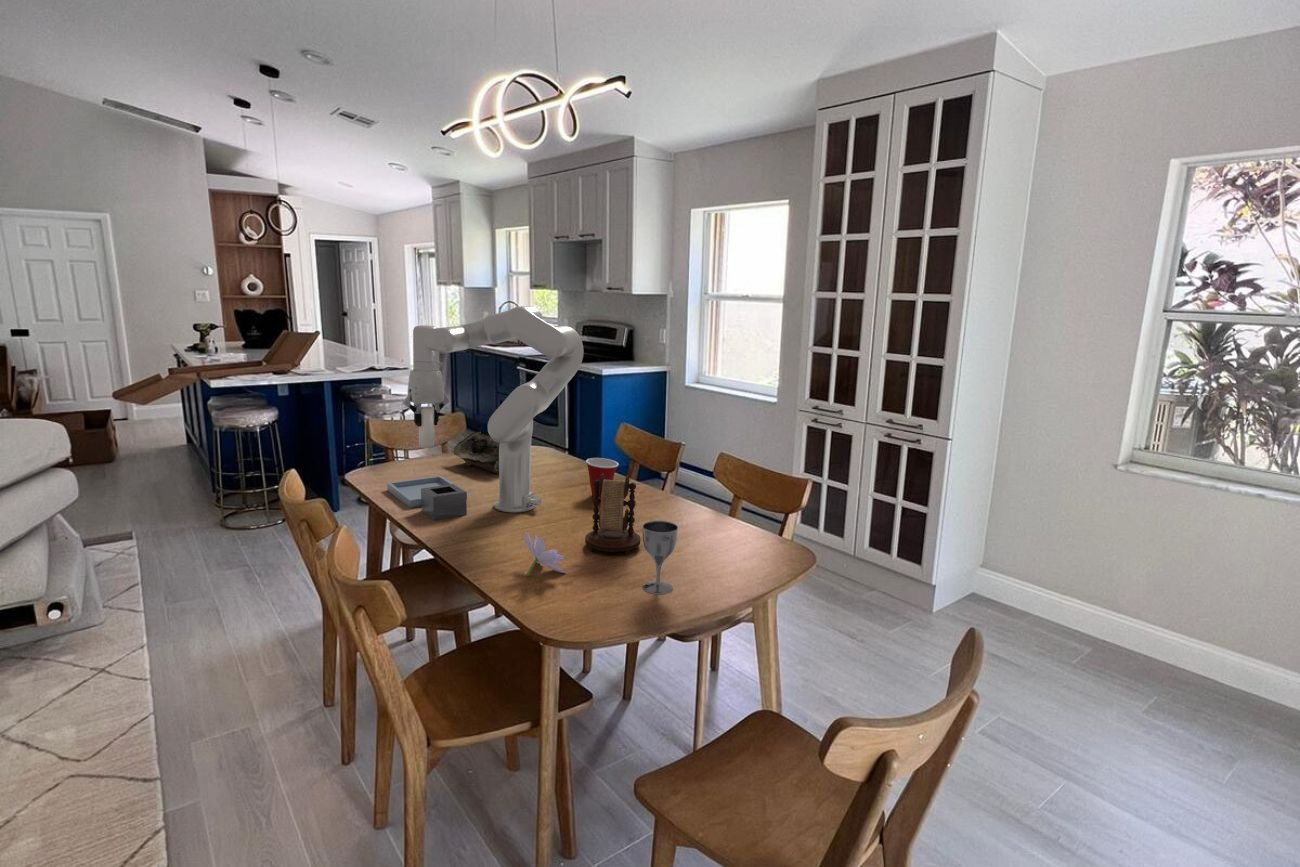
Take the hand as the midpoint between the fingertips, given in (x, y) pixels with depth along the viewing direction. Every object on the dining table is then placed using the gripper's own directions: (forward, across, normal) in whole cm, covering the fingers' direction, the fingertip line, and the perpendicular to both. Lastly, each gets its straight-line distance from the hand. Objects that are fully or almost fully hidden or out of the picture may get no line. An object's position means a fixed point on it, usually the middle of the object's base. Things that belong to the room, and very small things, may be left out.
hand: (426, 424), depth 214 cm
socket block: (+24, +1, +16) cm, 29 cm away
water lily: (+23, -1, +71) cm, 74 cm away
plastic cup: (+23, -48, +28) cm, 60 cm away
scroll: (+22, -24, +67) cm, 74 cm away
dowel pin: (+7, 0, 0) cm, 7 cm away
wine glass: (+22, -17, +93) cm, 97 cm away
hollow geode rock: (+24, -31, -23) cm, 45 cm away
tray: (+24, -1, -3) cm, 24 cm away
